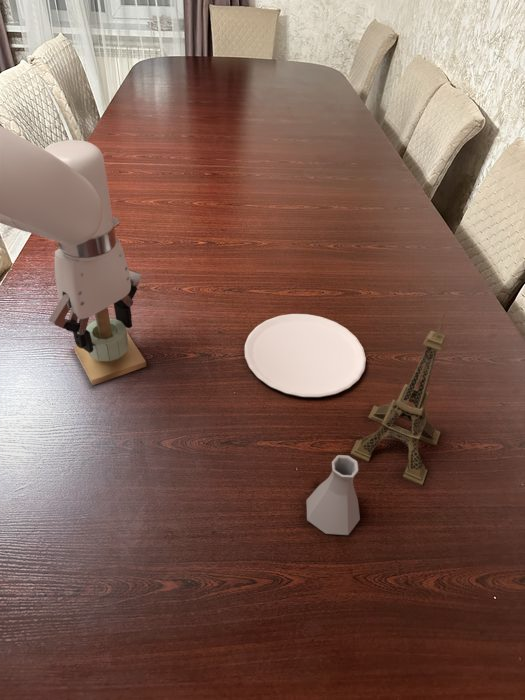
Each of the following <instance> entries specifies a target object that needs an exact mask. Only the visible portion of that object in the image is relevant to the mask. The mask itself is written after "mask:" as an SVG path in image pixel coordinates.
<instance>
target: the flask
mask: <svg viewBox="0 0 525 700" xmlns="http://www.w3.org/2000/svg"><path fill="white" fill-rule="evenodd" d="M358 472H359V464H358V461H357V460H356V459H354V458H353V457H351V456H350V455H343V454H337V455H336V457H334V458H333V460H332V461H331V473H330V474H329V476H328V477H327V478H326V479H325V480H324V481H323V482H321V483H320V484H318V486H317V487H316V488H315V489H314V491H312V493H311V494H310V495H309V496H308V497H307V499H306V503H305V504H306V521H307V522H309V523H310V524H312V525H313V526H314V527H316V528H317V529H318V530H320V531H322V533H324V534H325V535H339V536H349V535H350V533H352V531H353V530H354V528H355V527H356V525H357V524H358V523H359V521H360V520H361V518H360V517H361V516H360V515H361V513H360V506H359V499H358V495H357V492H356V489H355V486H354V478H355V476H356V475H357V474H358Z"/></svg>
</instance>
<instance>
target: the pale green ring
mask: <svg viewBox="0 0 525 700" xmlns="http://www.w3.org/2000/svg"><path fill="white" fill-rule="evenodd" d="M109 319H110V324H111V330H112V335H113V337H111V338H108V339H100V337H99V332H98V327H97V322H96V320H93V321H92V322H90V323H88V324H87V328H86V330H88V331H89V332H90V335H91V340H92V344H93V349H94V350H93V351H92V352H91V353H89V352H88V353H89V355H90V357H91V358H93V359H96V360H98V361H112V360H115V359H118V358H120V357H122V356H123V355H124V354H125V353H126V352H127V350H128V346H129V343H128V337H127V333H128V330H127V327H125V325H124V324H123V322H121V321H119V320H117V319H116V318H113V317H112V318H111V317H109Z"/></svg>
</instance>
